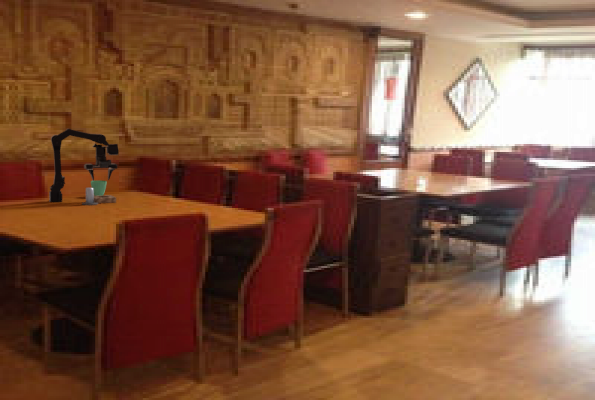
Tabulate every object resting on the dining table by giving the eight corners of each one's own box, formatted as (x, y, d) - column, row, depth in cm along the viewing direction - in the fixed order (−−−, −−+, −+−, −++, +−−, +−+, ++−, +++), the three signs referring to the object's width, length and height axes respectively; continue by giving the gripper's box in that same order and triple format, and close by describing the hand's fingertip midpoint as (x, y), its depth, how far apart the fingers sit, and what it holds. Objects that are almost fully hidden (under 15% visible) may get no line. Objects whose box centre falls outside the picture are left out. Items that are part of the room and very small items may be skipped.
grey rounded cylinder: (86, 203, 368) (86, 188, 367) (85, 202, 372) (84, 187, 371) (94, 203, 370) (94, 188, 369) (92, 202, 374) (92, 187, 373)
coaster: (84, 205, 365) (84, 204, 365) (80, 203, 373) (80, 202, 373) (99, 204, 370) (99, 203, 370) (95, 202, 377) (95, 201, 377)
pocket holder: (95, 203, 375) (95, 198, 375) (90, 200, 385) (90, 195, 385) (116, 202, 381) (116, 197, 381) (110, 199, 391) (110, 195, 391)
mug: (106, 197, 400) (106, 182, 399) (89, 197, 398) (89, 182, 397) (108, 194, 414) (107, 179, 413) (92, 194, 412) (92, 179, 411)
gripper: (88, 155, 372) (88, 182, 374) (119, 155, 382) (120, 181, 384) (83, 154, 381) (84, 180, 383) (114, 154, 391) (114, 179, 393)
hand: (101, 180), depth 386 cm, fingers open, 9 cm apart
